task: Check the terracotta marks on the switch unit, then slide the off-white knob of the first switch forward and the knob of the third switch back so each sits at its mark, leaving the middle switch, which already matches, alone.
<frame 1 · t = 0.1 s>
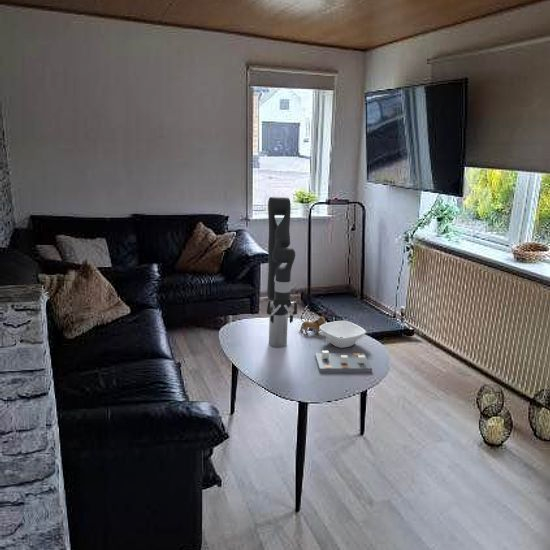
hand: (281, 322, 236), 17 cm above the table, tool pointing down, fingers open, 8 cm apart
switch 1: (325, 354, 234), point 4 cm above the table, slide at -2.5 cm
switch 2: (344, 359, 230), point 4 cm above the table, slide at 2.5 cm
switch unit: (342, 364, 233), on the table
switch 3: (361, 359, 230), point 4 cm above the table, slide at 2.5 cm
lion figurine: (312, 333, 269), on the table
bowl: (341, 344, 256), on the table
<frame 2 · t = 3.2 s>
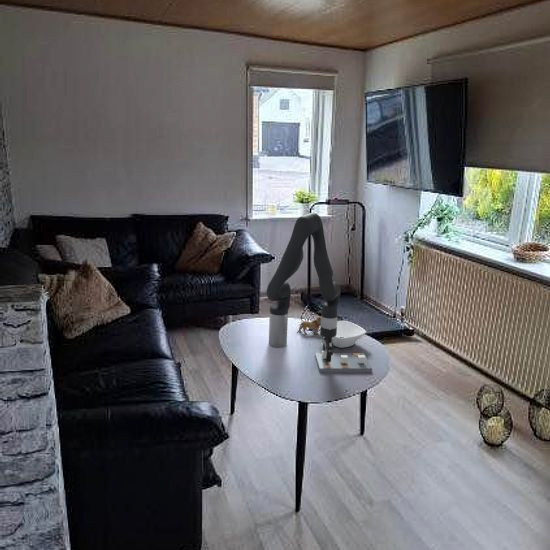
hand: (326, 357, 231), 4 cm above the table, tool pointing down, fingers open, 8 cm apart
switch 1: (325, 354, 234), point 4 cm above the table, slide at -2.5 cm, touching gripper
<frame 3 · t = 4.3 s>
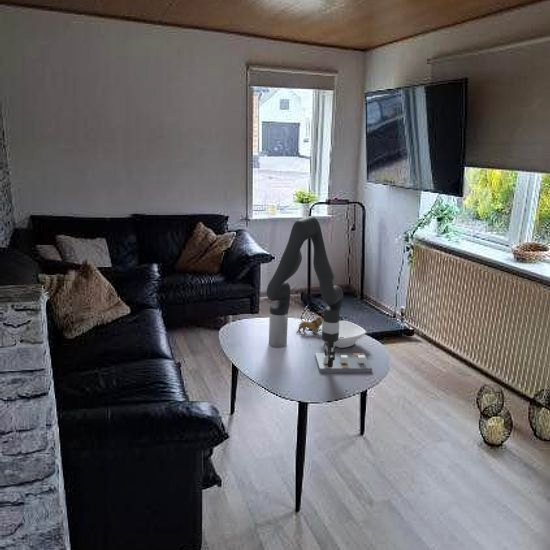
hand: (328, 362, 226), 4 cm above the table, tool pointing down, fingers open, 8 cm apart
switch 1: (327, 359, 229), point 4 cm above the table, slide at 2.8 cm, touching gripper
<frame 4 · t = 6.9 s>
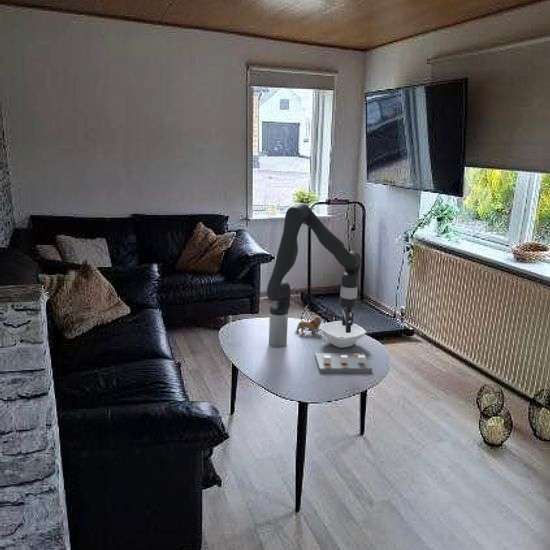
hand: (346, 328, 228), 18 cm above the table, tool pointing down, fingers open, 8 cm apart
switch 1: (327, 359, 229), point 4 cm above the table, slide at 2.8 cm
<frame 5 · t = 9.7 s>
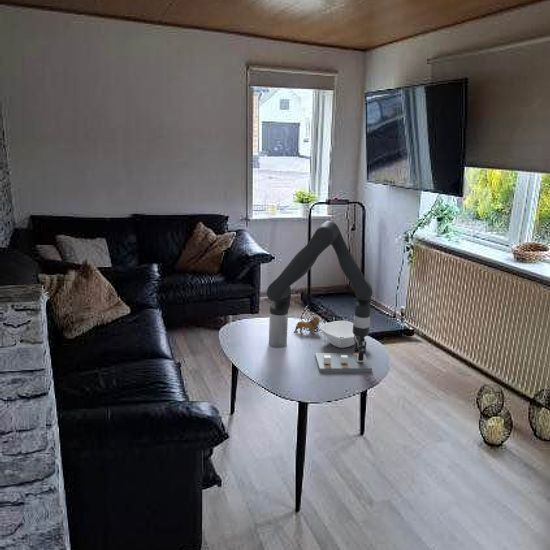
hand: (358, 356, 234), 3 cm above the table, tool pointing down, fingers open, 8 cm apart
switch 3: (360, 357, 232), point 4 cm above the table, slide at 1.2 cm, touching gripper
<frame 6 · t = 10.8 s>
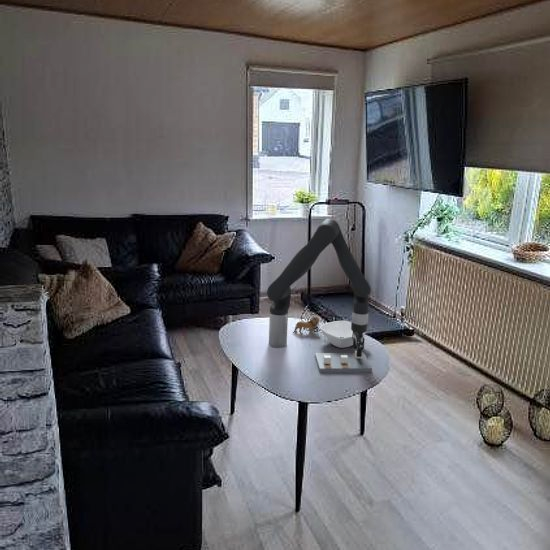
hand: (356, 352, 238), 4 cm above the table, tool pointing down, fingers open, 8 cm apart
switch 3: (358, 354, 235), point 4 cm above the table, slide at -2.6 cm, touching gripper
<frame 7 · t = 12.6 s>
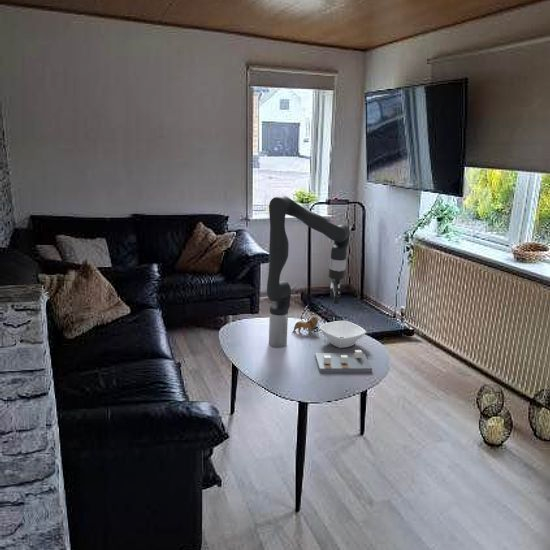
hand: (334, 300, 235), 28 cm above the table, tool pointing down, fingers open, 8 cm apart
switch 3: (358, 353, 236), point 4 cm above the table, slide at -3.1 cm
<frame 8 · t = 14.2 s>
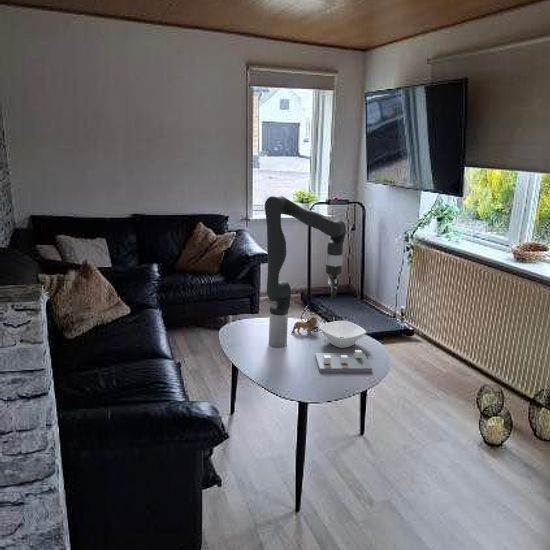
hand: (331, 296, 235), 30 cm above the table, tool pointing down, fingers open, 8 cm apart
at the end: switch 1 slide at 2.8 cm; switch 2 slide at 2.5 cm; switch 3 slide at -3.1 cm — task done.
